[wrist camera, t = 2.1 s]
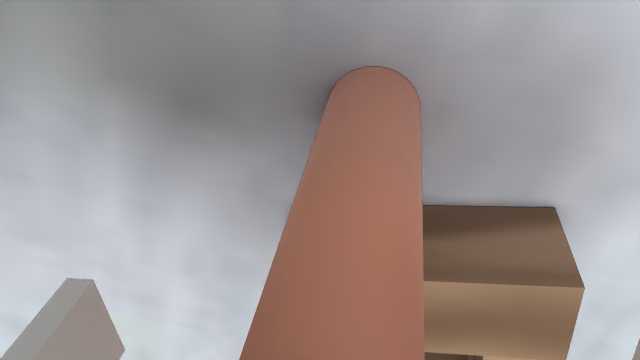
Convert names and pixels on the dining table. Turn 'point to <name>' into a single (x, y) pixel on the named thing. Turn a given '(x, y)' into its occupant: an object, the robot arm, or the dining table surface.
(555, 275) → the socket block
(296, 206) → the dowel
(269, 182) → the dining table surface
